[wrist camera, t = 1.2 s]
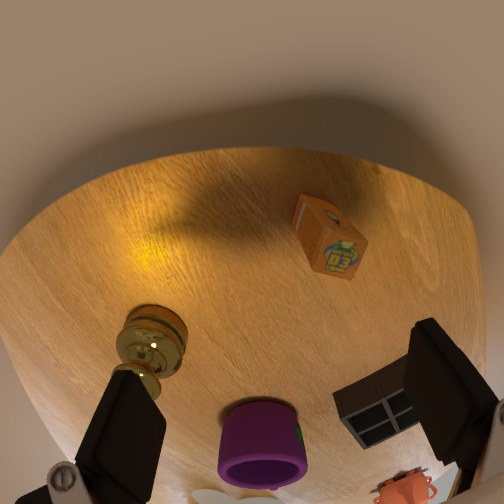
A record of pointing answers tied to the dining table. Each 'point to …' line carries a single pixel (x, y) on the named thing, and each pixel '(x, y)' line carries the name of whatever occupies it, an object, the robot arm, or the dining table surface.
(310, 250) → the supplement box
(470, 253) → the dining table surface
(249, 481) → the mug
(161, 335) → the brass knobbed weight
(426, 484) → the teapot
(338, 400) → the rack
